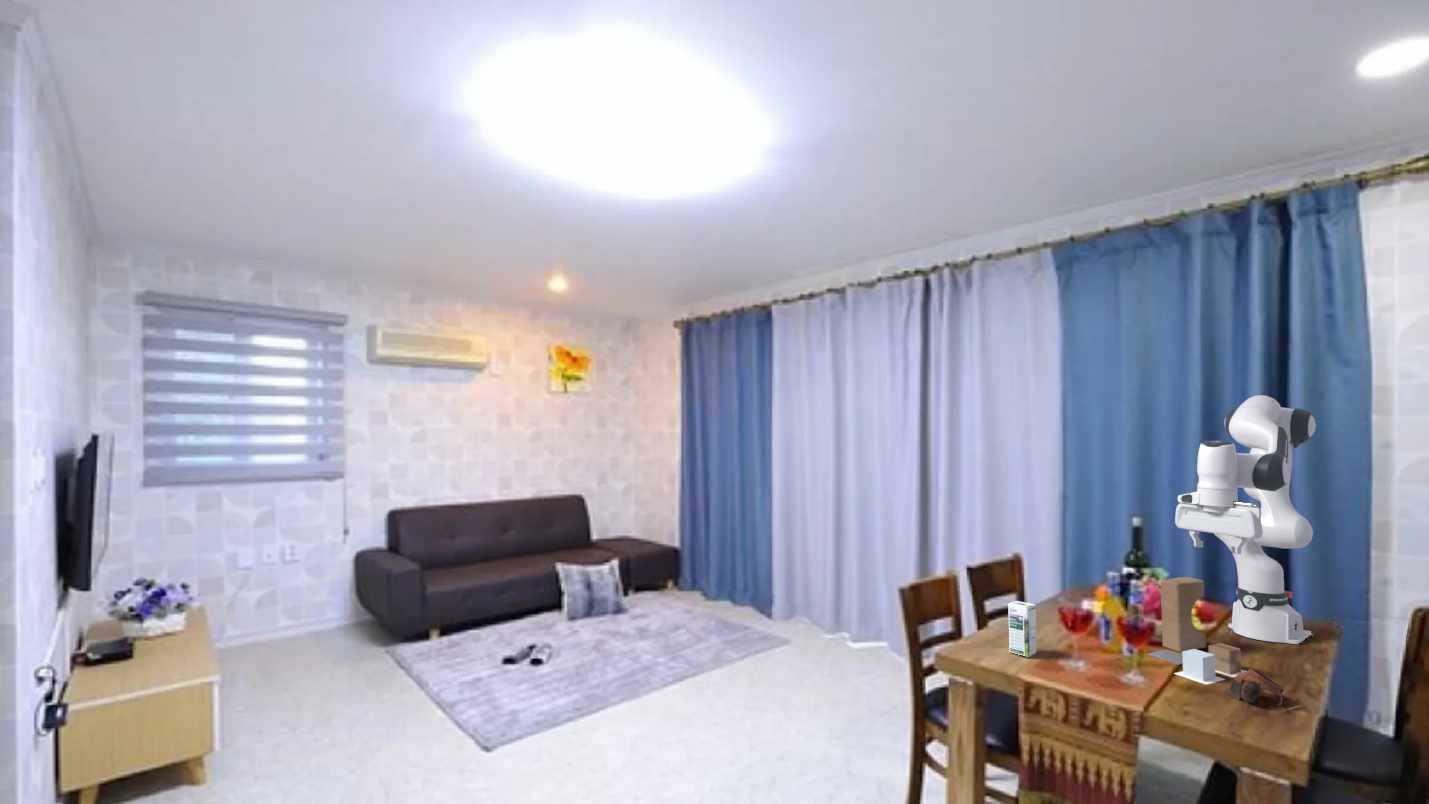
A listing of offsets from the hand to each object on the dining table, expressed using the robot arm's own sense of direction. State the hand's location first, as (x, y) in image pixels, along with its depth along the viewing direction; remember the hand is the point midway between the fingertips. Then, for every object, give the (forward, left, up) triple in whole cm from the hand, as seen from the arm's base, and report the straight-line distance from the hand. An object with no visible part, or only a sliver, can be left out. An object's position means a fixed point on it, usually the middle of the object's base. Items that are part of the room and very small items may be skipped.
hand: (1217, 550), depth 178 cm
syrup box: (+39, -30, -32) cm, 59 cm away
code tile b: (+12, +2, -32) cm, 34 cm away
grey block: (+12, +2, -32) cm, 34 cm away
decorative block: (-8, -14, -32) cm, 36 cm away
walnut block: (+1, +2, -32) cm, 32 cm away
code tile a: (+1, +2, -32) cm, 32 cm away
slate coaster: (+4, -10, -32) cm, 34 cm away
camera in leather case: (+15, +16, -32) cm, 39 cm away
